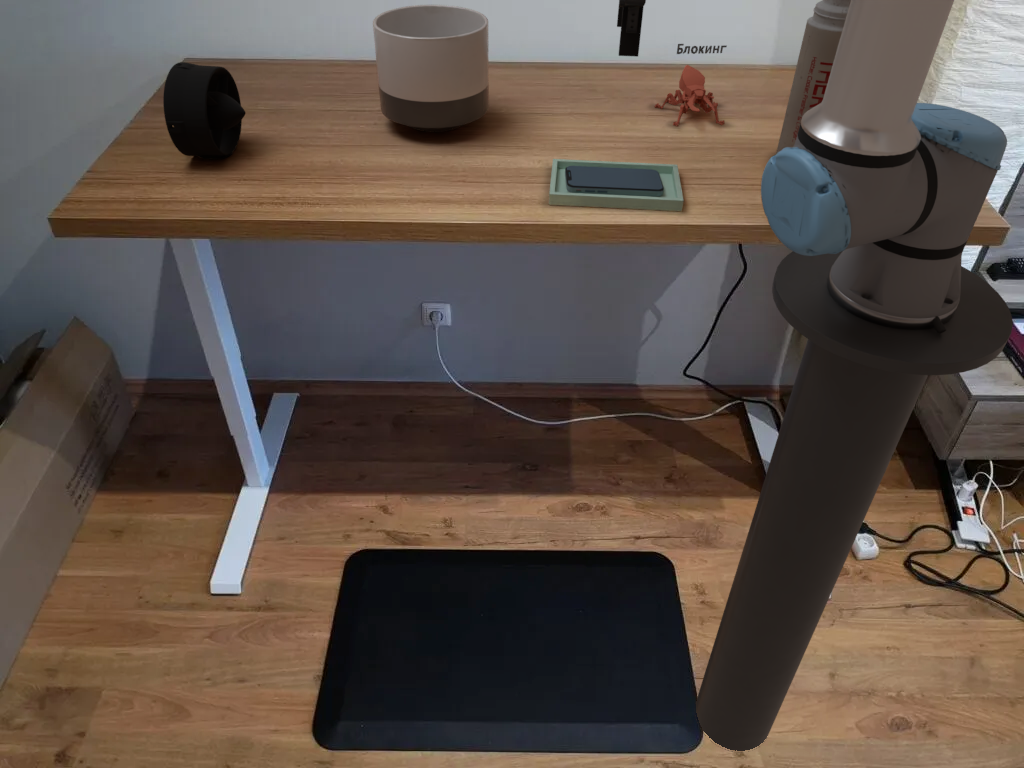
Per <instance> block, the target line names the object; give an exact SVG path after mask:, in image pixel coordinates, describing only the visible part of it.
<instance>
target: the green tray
mask: <svg viewBox="0 0 1024 768" xmlns="http://www.w3.org/2000/svg"><path fill="white" fill-rule="evenodd" d="M568 166H588V167H610V168H632V169H653V170H656V171H658V172H659V174H660V178H661V181H662V184H663V187H664V191H663V195H661V196H658V197H653V196H631V195H609V194H587V193H572V192H569V191H568V190H567V189H566V180H565V168H566V167H568ZM681 183H682V182H681V178H680V172H679V166H678V164H676V163H654V162H653V163H652V162H651V163H650V162H631V161H611V160H610V161H609V160H608V161H607V160H589V159H588V160H587V159H566V158H552V165H551V174H550V183H549V184H550V185H549V192H548V205H550V206H567V207H587V208H604V209H605V208H608V209H627V210H647V211H648V210H649V211H667V212H668V211H669V212H683V208H684V195H683V190H682V189H683V188H682V184H681Z"/></svg>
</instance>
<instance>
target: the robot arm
mask: <svg viewBox="0 0 1024 768" xmlns="http://www.w3.org/2000/svg"><path fill="white" fill-rule="evenodd" d="M646 1H647V0H618V8H617V9H618V11H617V20H616V22H617V23H616V27H617V28H620V34H619V44H618V56H619V57H639V52H640V43H641V34H642V24H643V17H644V16H643V15H644V6H645V5H646ZM954 2H955V0H851V3H850V6H849V10H848V13H847V17H846V20H845V24H844V27H843V31H842V34H841V38H840V41H839V45H838V48H837V52H836V55H835V59H834V62H833V66H832V69H831V73H830V76H829V80H828V83H827V87H826V90H825V94H824V98H823V101H822V102H821V103H820V104H818V105H817V106H815V107H813V108H812V109H810V110H808V111H807V112H806V113H805V114H804V115H803V117H802V119H801V124H800V127H799V131H798V134H797V138H796V141H795V144H794V147H793V148H791V147H786V148H783V149H782V150H781V151H780V152H778V153H777V154H776V153H775V154H774V155H773V156H771V157H770V158H769V159H768V161H767V162H766V164H765V166H764V169H763V171H762V174H761V175H762V176H761V182H760V196H761V204H762V209H763V212H764V215H765V217H766V219H767V221H768V225H769V227H770V229H771V230H772V232H773V234H774V235H775V237H776V238H777V239H778V241H780V243H782V245H784V246H785V247H786V248H787V249H789V250H790V251H792V252H793V251H794V252H796V253H798V254H801V255H805V256H816V255H822V254H827V253H829V254H837V253H839V252H841V251H843V252H842V253H841V254H840V256H839V257H838V258H837V260H836V261H835V262H834V264H833V265H832V267H831V270H830V273H829V276H828V280H827V289H828V291H829V294H830V295H831V297H832V298H833V299H834V300H835V301H836V302H837V303H838V304H839V305H840V306H841V307H842V308H844V309H845V310H847V311H848V312H850V313H852V314H853V315H855V316H857V317H859V318H861V319H864V320H866V321H869V322H872V323H875V324H878V325H882V326H886V327H891V328H897V329H906V330H921V329H929V328H935V329H936V331H937V333H938V334H941V333H943V332H945V331H946V329H945V327H944V325H943V324H945V323H946V322H948V321H949V320H950V319H951V318H952V317H953V315H954V313H955V311H956V308H957V306H958V304H959V301H960V291H961V266H962V259H963V258H962V257H963V256H962V255H963V252H964V250H965V247H966V245H967V242H968V240H969V239H970V235H971V234H972V231H973V229H974V226H975V224H976V222H977V219H978V217H979V215H980V213H981V210H982V208H983V205H984V203H985V202H986V199H987V196H988V194H989V191H990V190H991V187H992V185H993V182H994V180H995V178H996V176H997V173H998V171H1000V170H1001V168H1002V165H1001V163H1002V160H1003V157H1004V154H1005V152H1006V148H1007V146H1008V139H1007V136H1006V134H1005V131H1004V130H1003V129H1002V128H1001V127H1000V126H999V125H997V124H996V123H994V122H992V121H990V120H989V119H986V118H984V117H983V116H980V115H978V114H975V113H973V112H969V111H967V110H963V109H959V108H955V107H951V106H948V105H942V104H937V103H927V102H918V101H919V98H920V96H921V92H922V90H923V88H924V84H925V82H926V79H927V76H928V73H929V70H930V68H931V66H932V63H933V60H934V58H935V55H936V52H937V48H938V46H939V44H940V41H941V37H942V35H943V32H944V29H945V27H946V24H947V22H948V19H949V17H950V13H951V10H952V8H953V5H954Z"/></svg>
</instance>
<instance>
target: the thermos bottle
mask: <svg viewBox="0 0 1024 768" xmlns="http://www.w3.org/2000/svg"><path fill="white" fill-rule="evenodd" d="M850 3H851V0H820V1H818V2H816V4H815V7H814V8H813V15H812V16H810V17H809V18H808V19H807V20H806V24H805V28H804V32H803V36H802V41H801V46H800V49H799V53H798V58H797V63H796V67H795V71H794V75H793V80H792V83H791V88H790V92H789V97H788V100H787V104H786V110H785V113H784V118H783V123H782V127H781V130H780V136H779V140H778V144H777V147H776V148H777V149H776V151H775V152H776V153H775V155H776V154H777V153H778V152H780V151H781V150H782V149H783V148H786V147H791V148H793V147H794V144H795V141H796V138H797V134H798V131H799V127H800V124H801V119H802V117H803V115H804V114H805V113H806V112H807V111H808V110H810V109H812V108H813V107H815V106H817V105H818V104H820V103H821V102H822V101H823V98H824V94H825V90H826V87H827V83H828V80H829V76H830V73H831V69H832V66H833V62H834V59H835V55H836V52H837V48H838V45H839V41H840V38H841V34H842V31H843V27H844V24H845V20H846V17H847V13H848V10H849V6H850Z"/></svg>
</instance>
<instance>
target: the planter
mask: <svg viewBox="0 0 1024 768" xmlns="http://www.w3.org/2000/svg"><path fill="white" fill-rule="evenodd" d="M372 31H373V39H374V41H373V42H374V51H375V52H374V53H375V61H376V62H375V65H376V74H377V84H378V95H379V106H380V111H381V114H382V115H383V116H384V117H385V118H387V119H388V120H390V121H392V122H394V123H397V124H400V125H403V126H406V127H409V128H411V129H413V130H417V131H421V132H425V133H444V132H449V131H452V130H456V129H458V128H460V127H463V126H465V125H466V124H470V123H473V122H475V121H478V120H479V119H481V118H483V117H484V116H485V115H486V114H487V113H488V111H489V109H490V77H489V75H490V74H489V73H490V69H489V68H490V67H489V60H490V59H489V58H490V57H489V51H490V50H489V45H490V44H489V19H488V17H486V15H485V14H483V13H481V12H480V11H477V10H475V9H472V8H467V7H463V6H458V5H457V6H456V5H449V4H417V5H407V6H400V7H396V8H392V9H389V10H386V11H384V12H381V13H380V14H377V16H375V17H374V19H373V20H372Z"/></svg>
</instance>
